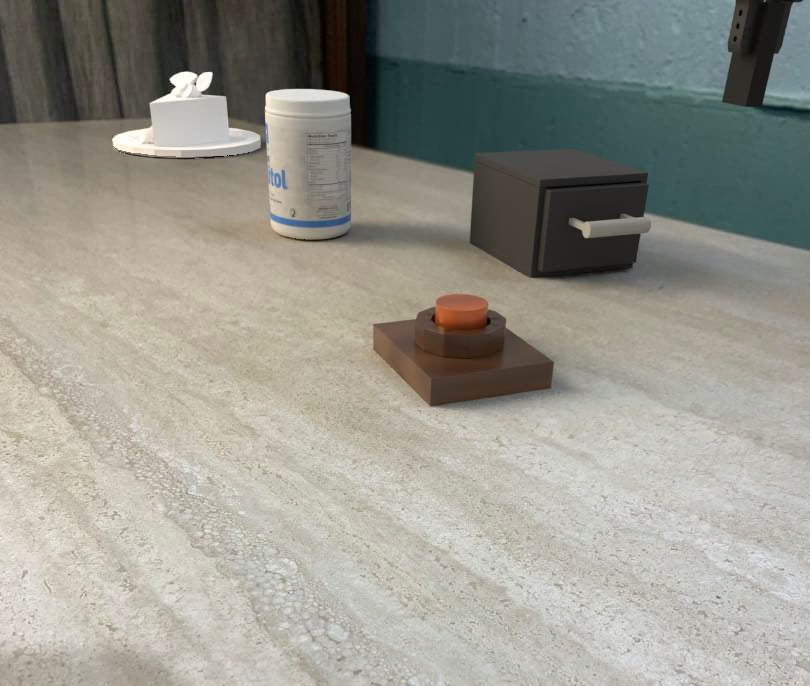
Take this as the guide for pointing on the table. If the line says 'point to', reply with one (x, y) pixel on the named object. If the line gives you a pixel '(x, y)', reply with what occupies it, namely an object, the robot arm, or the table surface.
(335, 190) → the supplement tub
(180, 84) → the white cake on plate
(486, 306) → the button
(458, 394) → the block
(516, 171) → the small cabinet
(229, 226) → the table surface
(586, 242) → the drawer
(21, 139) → the table surface
